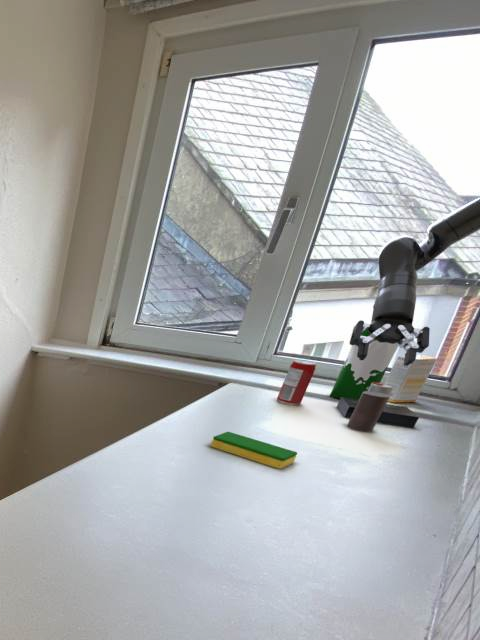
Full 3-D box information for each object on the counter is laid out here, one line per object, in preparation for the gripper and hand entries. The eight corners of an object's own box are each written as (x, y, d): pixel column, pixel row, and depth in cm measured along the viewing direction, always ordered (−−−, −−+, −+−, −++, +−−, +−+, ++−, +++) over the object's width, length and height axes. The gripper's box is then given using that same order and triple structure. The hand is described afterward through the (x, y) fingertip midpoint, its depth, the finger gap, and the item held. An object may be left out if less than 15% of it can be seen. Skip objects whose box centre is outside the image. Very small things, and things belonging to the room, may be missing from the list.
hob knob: (381, 404, 147) (391, 383, 145) (385, 408, 144) (396, 387, 141) (360, 401, 149) (370, 380, 147) (364, 405, 146) (374, 384, 143)
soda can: (301, 402, 156) (319, 361, 151) (298, 406, 153) (316, 364, 147) (277, 398, 160) (294, 357, 154) (274, 401, 156) (291, 360, 151)
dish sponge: (279, 469, 113) (284, 458, 112) (209, 446, 123) (213, 436, 122) (293, 462, 116) (298, 452, 115) (224, 440, 127) (228, 431, 126)
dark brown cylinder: (369, 427, 139) (386, 393, 135) (374, 433, 135) (392, 398, 131) (344, 423, 141) (360, 389, 137) (349, 429, 137) (365, 394, 133)
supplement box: (398, 397, 165) (420, 354, 159) (415, 402, 161) (439, 358, 155) (375, 397, 164) (397, 354, 158) (392, 403, 160) (415, 358, 154)
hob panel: (401, 417, 148) (407, 406, 146) (413, 428, 140) (419, 416, 138) (336, 407, 154) (341, 396, 152) (344, 417, 146) (349, 406, 144)
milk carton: (340, 392, 168) (371, 326, 159) (376, 401, 160) (410, 332, 151) (324, 395, 164) (354, 327, 155) (359, 404, 157) (393, 334, 148)
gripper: (365, 294, 139) (355, 348, 135) (440, 300, 132) (433, 357, 129) (351, 313, 145) (341, 365, 141) (422, 320, 139) (414, 374, 135)
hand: (385, 361), depth 135 cm, fingers open, 8 cm apart
